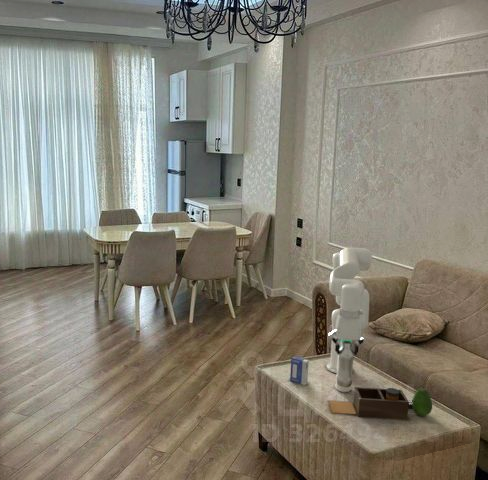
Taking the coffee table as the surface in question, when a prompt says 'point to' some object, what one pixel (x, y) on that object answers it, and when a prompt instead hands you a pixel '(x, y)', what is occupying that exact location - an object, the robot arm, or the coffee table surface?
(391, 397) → the spice jar
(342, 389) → the water bottle
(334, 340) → the robot arm
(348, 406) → the cork mat
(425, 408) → the fruit
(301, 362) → the walkman
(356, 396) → the brown divided box
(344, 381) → the metal flask
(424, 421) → the coffee table surface
